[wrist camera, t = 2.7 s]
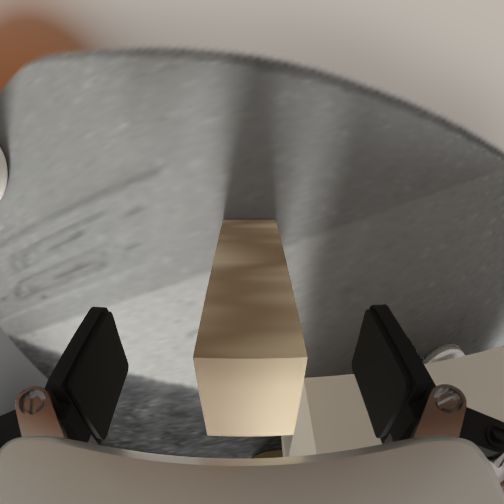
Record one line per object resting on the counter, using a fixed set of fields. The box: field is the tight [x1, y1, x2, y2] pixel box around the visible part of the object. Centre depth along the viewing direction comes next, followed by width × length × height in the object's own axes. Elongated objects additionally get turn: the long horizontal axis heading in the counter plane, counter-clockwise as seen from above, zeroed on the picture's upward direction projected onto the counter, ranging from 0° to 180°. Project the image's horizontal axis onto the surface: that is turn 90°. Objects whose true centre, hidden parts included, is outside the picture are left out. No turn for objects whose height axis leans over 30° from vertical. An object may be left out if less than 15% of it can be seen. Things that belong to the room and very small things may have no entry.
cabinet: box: [281, 346, 504, 457], centre depth 17 cm, size 20×14×15 cm
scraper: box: [193, 220, 308, 436], centre depth 17 cm, size 3×18×11 cm, turn 0°
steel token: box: [422, 343, 465, 364], centre depth 23 cm, size 5×5×2 cm
